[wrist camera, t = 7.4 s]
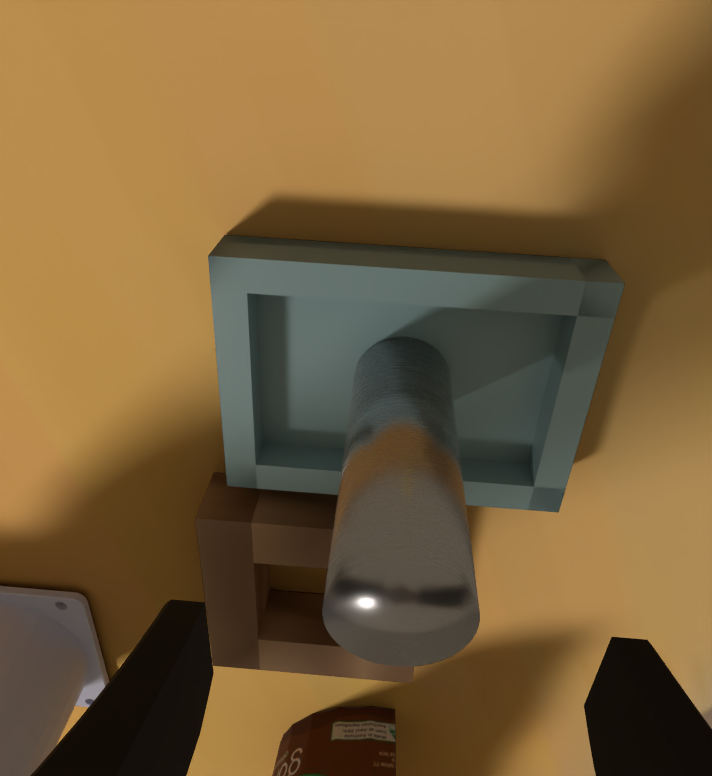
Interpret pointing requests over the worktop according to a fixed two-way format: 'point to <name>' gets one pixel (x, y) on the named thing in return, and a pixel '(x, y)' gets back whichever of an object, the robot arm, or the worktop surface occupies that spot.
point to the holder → (251, 583)
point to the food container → (340, 744)
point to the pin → (401, 515)
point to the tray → (418, 320)
